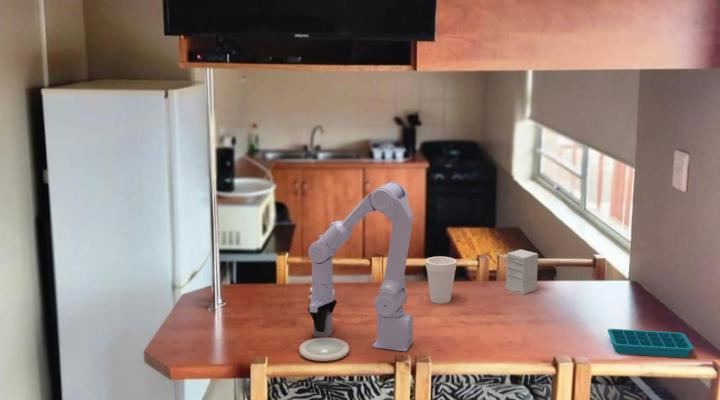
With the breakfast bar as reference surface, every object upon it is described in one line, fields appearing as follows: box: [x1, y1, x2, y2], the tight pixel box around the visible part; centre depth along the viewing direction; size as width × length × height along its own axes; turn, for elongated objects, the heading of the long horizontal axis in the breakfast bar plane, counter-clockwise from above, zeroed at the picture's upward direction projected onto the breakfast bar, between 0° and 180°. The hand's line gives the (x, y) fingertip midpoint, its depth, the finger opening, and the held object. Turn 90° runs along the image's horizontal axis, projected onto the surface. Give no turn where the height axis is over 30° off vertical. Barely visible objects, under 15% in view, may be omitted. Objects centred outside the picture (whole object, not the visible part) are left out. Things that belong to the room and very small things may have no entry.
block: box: [313, 312, 333, 338], centre depth 216 cm, size 4×4×6 cm
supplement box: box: [505, 248, 539, 296], centre depth 252 cm, size 7×7×13 cm
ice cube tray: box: [607, 328, 695, 358], centre depth 206 cm, size 12×20×3 cm, turn 81°
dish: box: [299, 337, 350, 362], centre depth 203 cm, size 13×13×2 cm
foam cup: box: [425, 255, 457, 305], centre depth 242 cm, size 10×9×13 cm
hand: (323, 328), depth 216 cm, fingers closed on block, 4 cm apart
